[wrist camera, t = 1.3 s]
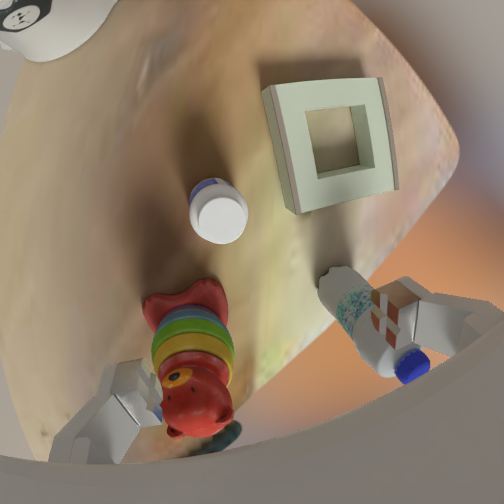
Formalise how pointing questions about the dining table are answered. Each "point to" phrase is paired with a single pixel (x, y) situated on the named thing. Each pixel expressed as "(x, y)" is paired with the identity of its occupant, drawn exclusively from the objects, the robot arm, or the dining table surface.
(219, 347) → the stacking bear
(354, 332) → the bottle
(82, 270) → the dining table surface
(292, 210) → the holed board
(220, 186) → the pill bottle
